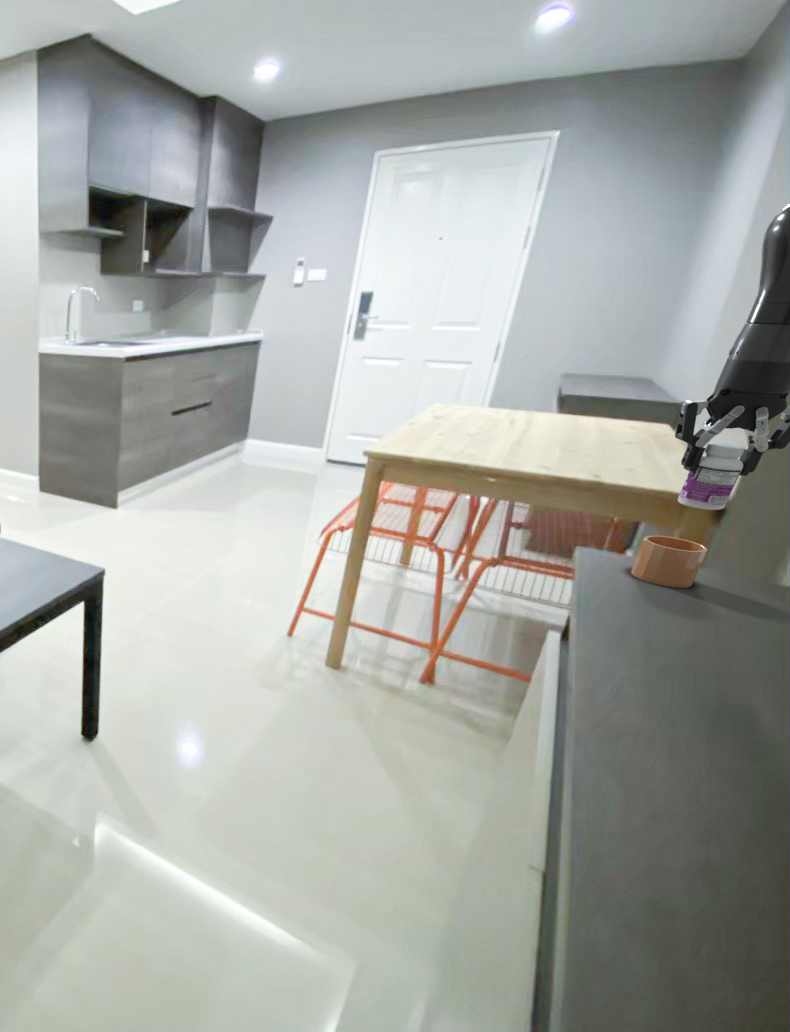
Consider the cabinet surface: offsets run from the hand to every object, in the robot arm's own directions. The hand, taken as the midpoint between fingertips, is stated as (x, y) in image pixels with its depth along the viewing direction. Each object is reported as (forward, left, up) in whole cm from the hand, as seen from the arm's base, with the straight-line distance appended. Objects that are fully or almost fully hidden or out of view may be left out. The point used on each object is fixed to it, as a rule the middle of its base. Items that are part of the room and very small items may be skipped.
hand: (714, 471), depth 93 cm
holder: (-3, -10, -22) cm, 25 cm away
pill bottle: (0, 0, -6) cm, 6 cm away
